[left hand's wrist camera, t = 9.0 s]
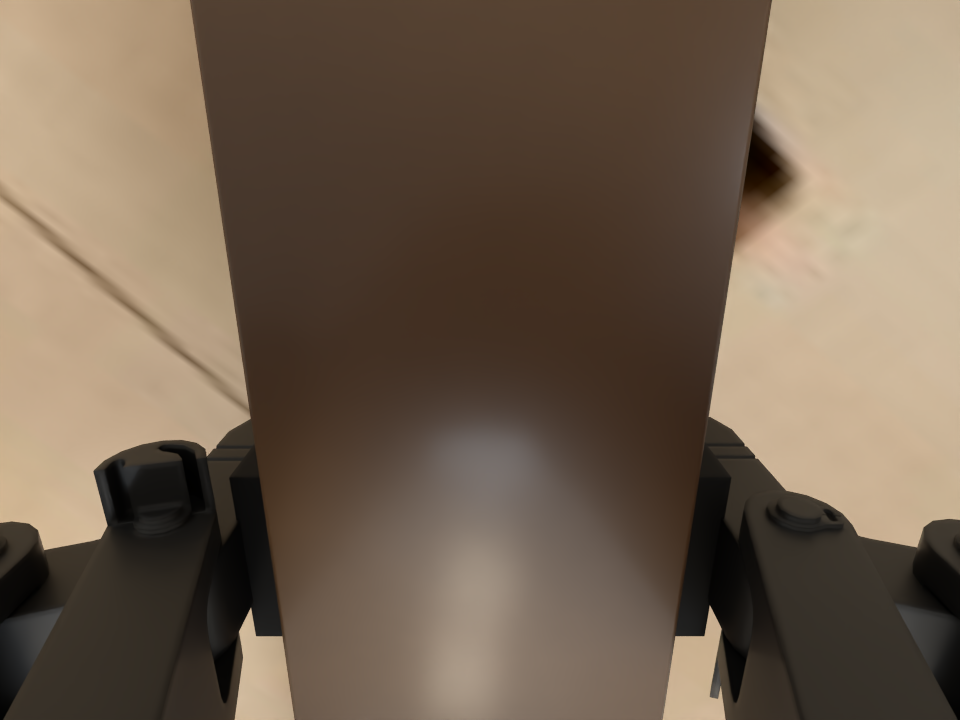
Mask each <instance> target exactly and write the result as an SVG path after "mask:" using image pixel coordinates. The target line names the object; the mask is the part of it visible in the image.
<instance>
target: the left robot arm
mask: <svg viewBox="0 0 960 720" xmlns="http://www.w3.org/2000/svg"><path fill="white" fill-rule="evenodd" d="M94 475H95V479H96V483H97V487H98V490H99V494H100V498H101V502H102V506H103V510H104V513H105V517H106V521H107V525H108V526H107V528H106V530H105V532H104V534H103V536H102V538H101V539H99V540H95V541H90V542H85V543H80V544H75V545H69V546H64V547H59V548H53V549H48V550H44V548H43V545H42V542H41V539H40V536H39V532H38V530H37V529H35V528H34V527H33V526H31V525H30V524H27V523H19V522H5V523H0V720H234V719H235V712H236V705H237V697H238V690H239V683H240V675H241V668H242V661H243V654H242V647H241V641H240V636H239V630H240V628H241V626H242V624H243V622H244V620H245V618H246V616H247V614H248V612H249V610H250V608H251V609H252V615H253V621H254V626H255V632H256V636H282V629H281V622H280V615H279V608H278V601H277V594H276V587H275V581H274V574H273V567H272V560H271V553H270V546H269V539H268V532H267V526H266V519H265V512H264V505H263V498H262V491H261V484H260V477H259V471H258V464H257V457H256V450H255V443H254V436H253V429H252V422H251V419H250V420H248V421H246V422H245V423H243V424H241V425H239V426H238V427H236V428H234V429H232V430H231V431H229V432H228V433H227V434H226V436H225V437H224V438H223V439H222V440H221V441H220V442H219V444H218V445H217V448H216V449H213V450H212V452H211V453H210V454H209V455H208V456H206V451H205V448H203V447H202V446H200V445H199V444H197V443H194V442H189V441H184V440H170V441H159V442H153V443H148V444H143V445H139V446H136V447H133V448H131V449H128V450H125V451H122V452H120V453H118V454H116V455H114V456H112V457H110V458H109V459H107V460H105V461H104V462H103V463H101V464H100V465H99V466H98V467H97V468H96V469H95V470H94ZM709 606H711V608H712V610H713V612H714V614H715V616H716V618H717V620H718V622H719V624H720V626H721V628H722V630H721V636H720V641H719V647H718V652H717V657H716V663H715V668H714V674H713V679H712V685H711V692H710V697H712V698H717V699H718V696H719V691H720V686H721V689H722V696H723V703H724V711H725V718H726V720H960V520H954V519H945V520H937V521H932V522H931V523H929V524H928V525H926V526H925V527H924V528H923V531H922V535H921V538H920V541H919V544H918V547H917V548H916V547H911V546H906V545H900V544H895V543H890V542H884V541H879V540H874V539H869V538H865V537H860V536H858V535H857V533H856V531H855V529H854V527H853V525H852V524H851V523H850V522H849V521H848V520H847V518H846V517H845V516H844V515H843V514H842V513H841V512H839V511H837V510H836V509H834V508H833V507H831V506H830V505H828V504H827V503H824V502H822V501H819V500H817V499H814V498H812V497H809V496H807V495H803V494H798V493H794V492H789V491H786V490H785V489H784V488H783V487H782V486H781V485H780V483H779V482H778V481H777V480H776V479H775V478H774V477H773V475H772V474H771V473H770V472H769V471H768V470H767V469H766V468H765V466H764V465H763V464H762V463H761V462H760V461H759V460H758V459H755V455H754V454H753V453H752V452H751V451H750V449H749V448H748V447H745V446H744V443H743V442H742V440H741V439H740V438H739V437H738V436H737V435H736V434H735V432H734V431H733V430H732V429H730V428H728V427H727V426H725V425H723V424H721V423H720V422H718V421H716V420H714V419H713V418H711V417H708V423H707V430H706V436H705V443H704V450H703V456H702V463H701V469H700V476H699V483H698V489H697V496H696V502H695V509H694V515H693V522H692V529H691V535H690V542H689V548H688V555H687V562H686V568H685V575H684V581H683V588H682V594H681V601H680V608H679V614H678V621H677V627H676V634H675V636H704V635H705V629H706V624H707V618H708V612H709Z"/></svg>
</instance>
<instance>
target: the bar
mask: <svg viewBox="0 0 960 720" xmlns="http://www.w3.org/2000/svg"><path fill="white" fill-rule="evenodd" d="M771 2H772V0H190V3H191V10H192V17H193V24H194V31H195V38H196V44H197V51H198V58H199V65H200V72H201V79H202V86H203V93H204V99H205V106H206V113H207V120H208V127H209V134H210V141H211V148H212V154H213V161H214V168H215V175H216V182H217V189H218V196H219V203H220V209H221V216H222V223H223V230H224V237H225V244H226V251H227V258H228V264H229V271H230V278H231V285H232V292H233V299H234V306H235V313H236V319H237V326H238V333H239V340H240V347H241V354H242V361H243V367H244V374H245V381H246V388H247V395H248V402H249V409H250V416H251V422H252V429H253V436H254V443H255V450H256V457H257V464H258V471H259V477H260V484H261V491H262V498H263V505H264V512H265V519H266V526H267V532H268V539H269V546H270V553H271V560H272V567H273V574H274V581H275V587H276V594H277V601H278V608H279V615H280V622H281V629H282V636H283V642H284V649H285V656H286V663H287V670H288V677H289V684H290V691H291V697H292V704H293V711H294V718H295V720H663V713H664V706H665V700H666V693H667V687H668V680H669V673H670V667H671V660H672V654H673V647H674V641H675V634H676V627H677V621H678V614H679V608H680V601H681V594H682V588H683V581H684V575H685V568H686V562H687V555H688V548H689V542H690V535H691V529H692V522H693V515H694V509H695V502H696V496H697V489H698V483H699V476H700V469H701V463H702V456H703V450H704V443H705V436H706V430H707V423H708V417H709V410H710V404H711V397H712V390H713V384H714V377H715V371H716V364H717V357H718V351H719V344H720V338H721V331H722V325H723V318H724V311H725V305H726V298H727V292H728V285H729V279H730V272H731V265H732V259H733V252H734V246H735V239H736V232H737V226H738V219H739V213H740V206H741V200H742V193H743V186H744V180H745V173H746V167H747V160H748V153H749V147H750V140H751V134H752V127H753V121H754V114H755V107H756V101H757V94H758V88H759V81H760V74H761V68H762V61H763V55H764V48H765V42H766V35H767V28H768V22H769V15H770V9H771Z"/></svg>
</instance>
